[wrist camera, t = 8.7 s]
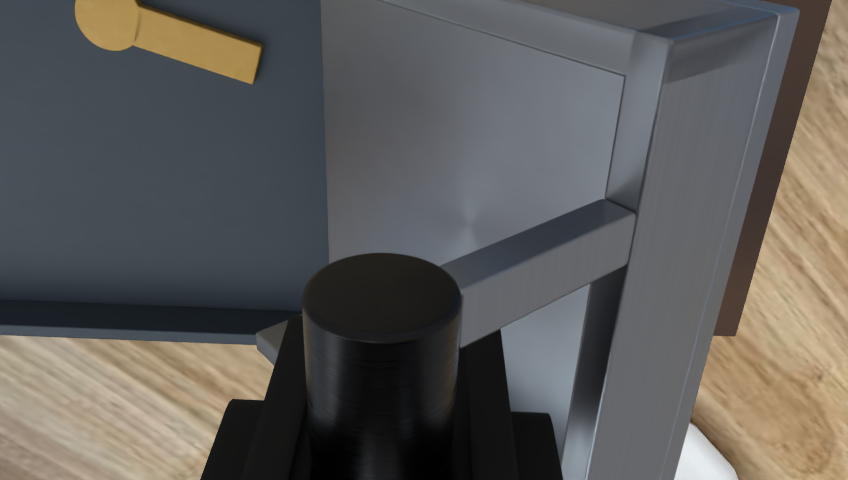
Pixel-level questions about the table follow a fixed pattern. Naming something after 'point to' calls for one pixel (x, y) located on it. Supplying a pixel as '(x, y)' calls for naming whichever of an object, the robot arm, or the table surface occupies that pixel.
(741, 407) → the table surface
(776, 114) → the stand
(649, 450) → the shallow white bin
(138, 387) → the table surface
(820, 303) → the table surface
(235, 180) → the tray
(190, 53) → the key
